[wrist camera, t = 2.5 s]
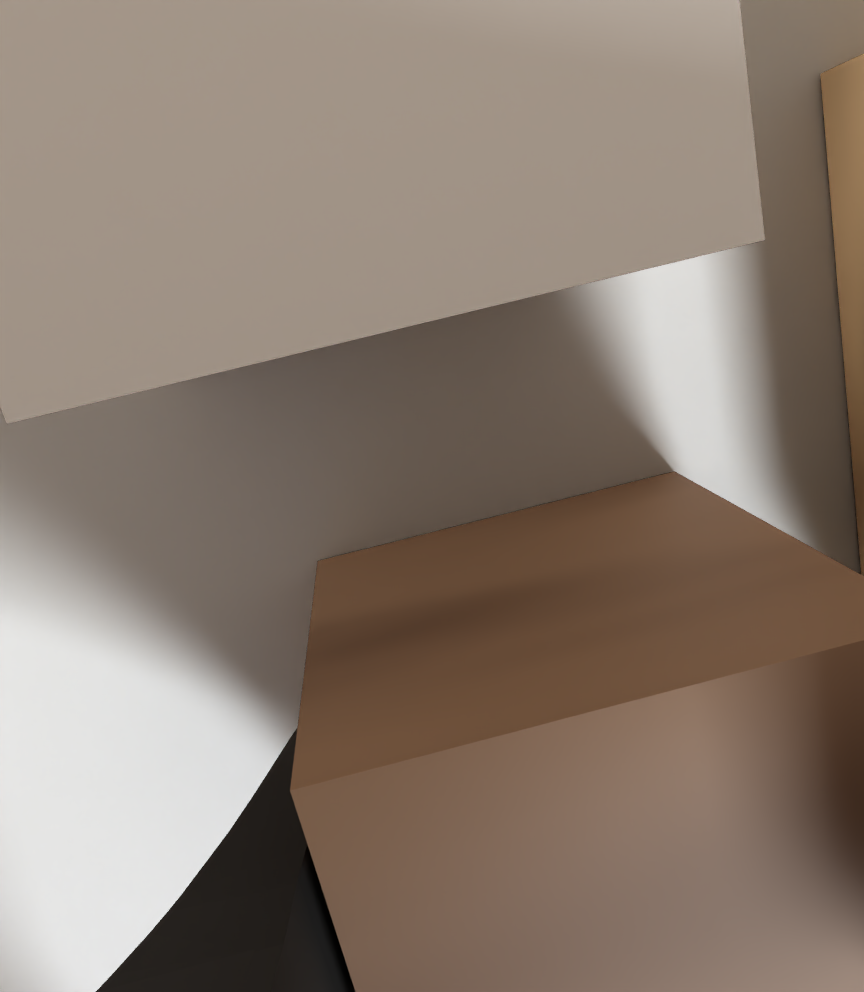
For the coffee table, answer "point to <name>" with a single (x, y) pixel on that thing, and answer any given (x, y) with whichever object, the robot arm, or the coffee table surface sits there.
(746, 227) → the grey cube
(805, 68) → the coffee table surface
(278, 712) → the coffee table surface
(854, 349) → the oak base
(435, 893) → the walnut cube
